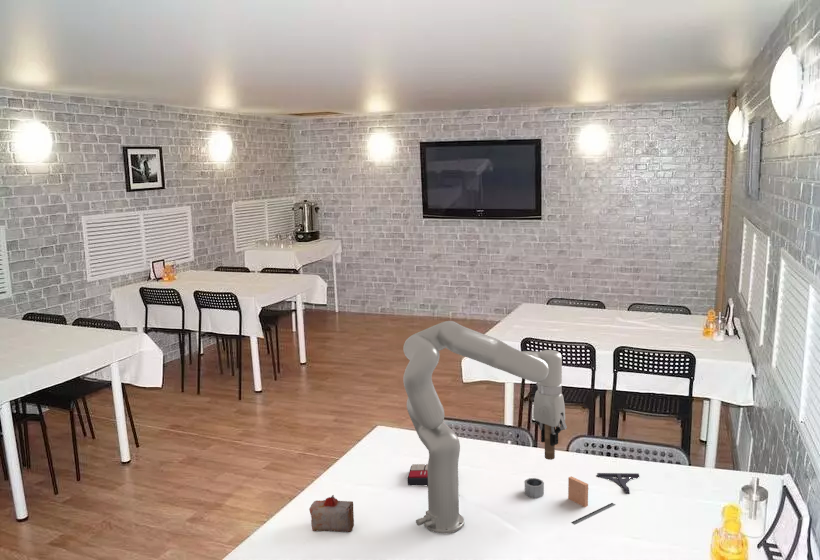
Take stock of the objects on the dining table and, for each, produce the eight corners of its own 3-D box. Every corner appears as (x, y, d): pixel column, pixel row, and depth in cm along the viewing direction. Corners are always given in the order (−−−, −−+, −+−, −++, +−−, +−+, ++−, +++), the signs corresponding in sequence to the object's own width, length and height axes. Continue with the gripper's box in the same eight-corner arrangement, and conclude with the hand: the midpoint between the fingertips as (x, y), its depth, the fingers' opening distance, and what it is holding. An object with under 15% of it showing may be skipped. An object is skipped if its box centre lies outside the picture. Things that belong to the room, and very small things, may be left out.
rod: (550, 460, 208) (550, 419, 206) (542, 457, 211) (542, 416, 209) (556, 457, 210) (556, 416, 208) (549, 454, 213) (549, 414, 211)
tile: (584, 508, 208) (585, 485, 207) (568, 500, 214) (568, 477, 213) (588, 506, 209) (588, 483, 208) (571, 498, 215) (571, 476, 214)
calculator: (411, 463, 239) (451, 462, 237) (412, 474, 240) (452, 473, 237) (406, 476, 228) (448, 476, 226) (407, 488, 229) (449, 487, 227)
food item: (307, 533, 199) (306, 503, 198) (314, 520, 207) (313, 491, 205) (351, 535, 197) (349, 505, 196) (356, 521, 205) (355, 492, 204)
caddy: (534, 502, 214) (534, 488, 213) (521, 495, 219) (521, 481, 218) (547, 496, 218) (547, 483, 217) (533, 490, 223) (533, 476, 222)
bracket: (605, 496, 218) (606, 488, 218) (597, 476, 233) (597, 469, 232) (649, 497, 217) (649, 489, 216) (638, 477, 231) (638, 470, 231)
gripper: (522, 385, 211) (523, 438, 214) (562, 397, 198) (561, 454, 201) (538, 380, 216) (538, 432, 218) (577, 392, 203) (577, 447, 205)
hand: (549, 442), depth 210 cm, fingers closed on rod, 3 cm apart
